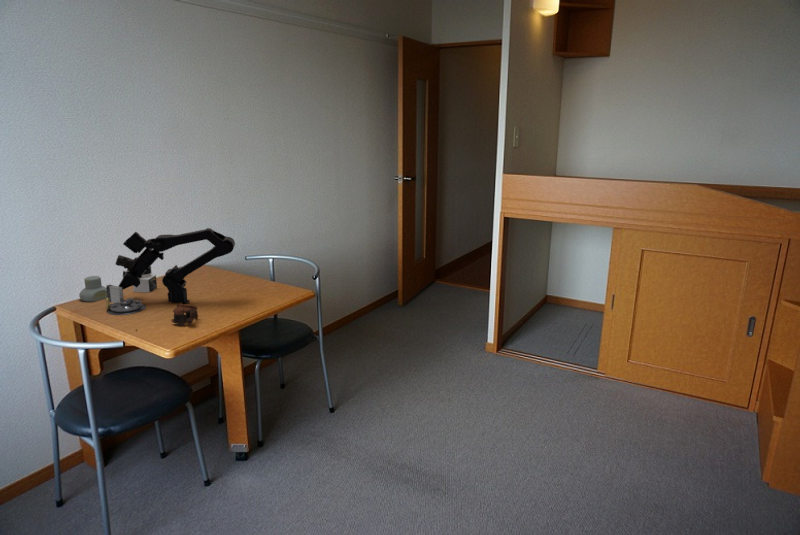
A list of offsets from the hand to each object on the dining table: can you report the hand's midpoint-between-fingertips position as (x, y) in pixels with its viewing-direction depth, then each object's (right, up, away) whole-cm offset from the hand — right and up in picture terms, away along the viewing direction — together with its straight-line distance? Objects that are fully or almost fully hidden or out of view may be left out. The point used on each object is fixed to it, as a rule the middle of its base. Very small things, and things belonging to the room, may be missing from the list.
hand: (117, 290), depth 220 cm
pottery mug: (+32, -12, -12) cm, 36 cm away
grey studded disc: (+3, -7, -1) cm, 7 cm away
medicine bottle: (+1, -2, +22) cm, 22 cm away
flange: (+5, -8, -2) cm, 10 cm away
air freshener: (-14, -5, +10) cm, 18 cm away
